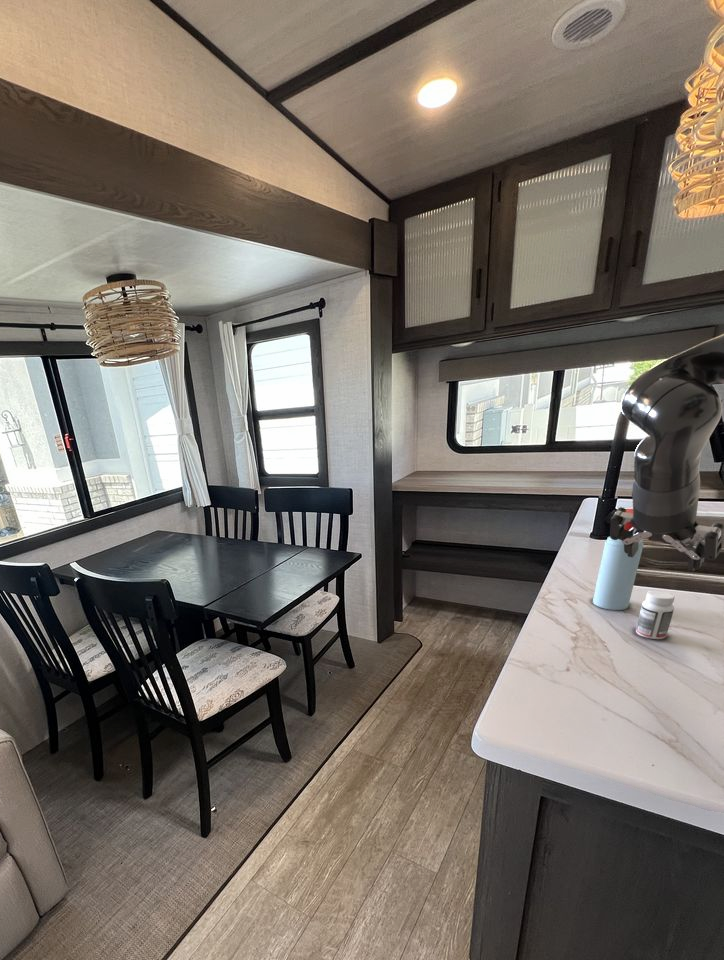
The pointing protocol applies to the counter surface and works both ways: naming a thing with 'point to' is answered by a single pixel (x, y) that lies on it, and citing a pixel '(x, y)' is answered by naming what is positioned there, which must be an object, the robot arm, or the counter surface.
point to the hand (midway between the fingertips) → (661, 559)
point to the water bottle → (616, 576)
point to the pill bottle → (655, 615)
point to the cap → (628, 524)
